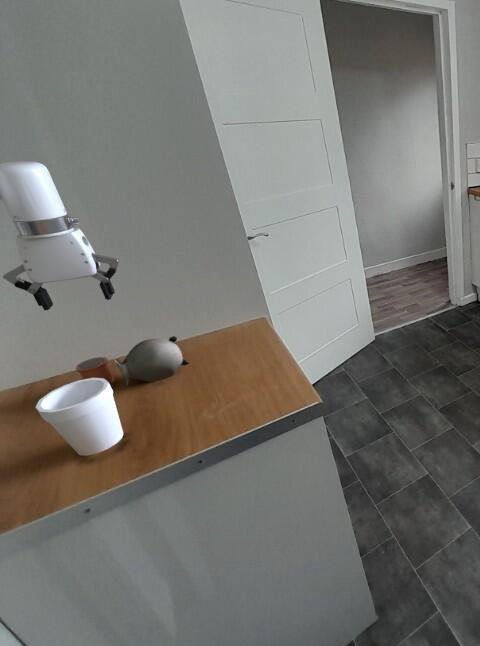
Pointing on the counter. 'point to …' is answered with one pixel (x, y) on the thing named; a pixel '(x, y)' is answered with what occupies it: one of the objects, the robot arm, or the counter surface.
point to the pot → (95, 369)
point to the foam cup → (83, 415)
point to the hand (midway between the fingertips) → (80, 302)
